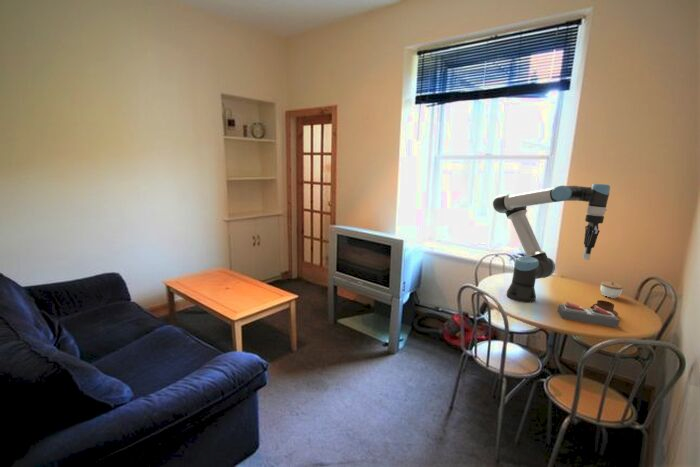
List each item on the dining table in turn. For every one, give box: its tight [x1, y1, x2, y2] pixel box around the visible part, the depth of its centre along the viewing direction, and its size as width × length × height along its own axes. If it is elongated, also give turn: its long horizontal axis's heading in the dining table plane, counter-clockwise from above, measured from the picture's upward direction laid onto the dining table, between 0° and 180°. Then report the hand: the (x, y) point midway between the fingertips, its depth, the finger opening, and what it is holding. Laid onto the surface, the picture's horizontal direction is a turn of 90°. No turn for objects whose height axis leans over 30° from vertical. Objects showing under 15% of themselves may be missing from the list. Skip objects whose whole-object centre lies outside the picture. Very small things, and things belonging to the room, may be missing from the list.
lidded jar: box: [600, 281, 624, 299], centre depth 206 cm, size 11×11×9 cm
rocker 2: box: [593, 304, 612, 315], centre depth 170 cm, size 7×4×1 cm, turn 72°
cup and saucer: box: [590, 299, 619, 317], centre depth 180 cm, size 12×12×6 cm
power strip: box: [557, 303, 620, 329], centre depth 172 cm, size 24×9×5 cm, turn 72°
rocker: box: [565, 301, 584, 311], centre depth 173 cm, size 7×4×1 cm, turn 72°
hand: (585, 259), depth 178 cm, fingers closed
